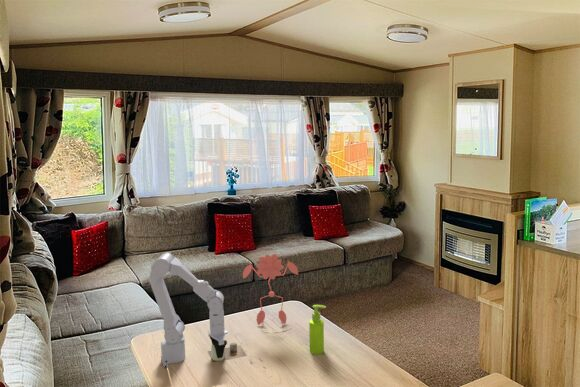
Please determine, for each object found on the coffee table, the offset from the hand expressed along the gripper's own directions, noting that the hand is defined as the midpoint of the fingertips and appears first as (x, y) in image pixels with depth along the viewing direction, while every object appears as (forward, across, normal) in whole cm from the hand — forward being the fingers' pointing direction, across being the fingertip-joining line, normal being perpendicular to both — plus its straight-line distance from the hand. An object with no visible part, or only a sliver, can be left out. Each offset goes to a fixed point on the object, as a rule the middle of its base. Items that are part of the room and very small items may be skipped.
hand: (218, 354), depth 198 cm
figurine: (+3, +22, -30) cm, 37 cm away
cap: (+1, 0, 0) cm, 1 cm away
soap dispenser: (+3, -9, -40) cm, 41 cm away
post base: (+2, +2, -4) cm, 5 cm away
